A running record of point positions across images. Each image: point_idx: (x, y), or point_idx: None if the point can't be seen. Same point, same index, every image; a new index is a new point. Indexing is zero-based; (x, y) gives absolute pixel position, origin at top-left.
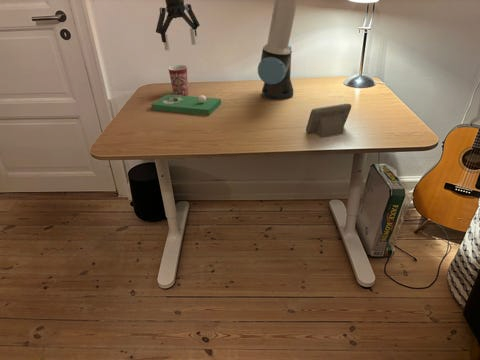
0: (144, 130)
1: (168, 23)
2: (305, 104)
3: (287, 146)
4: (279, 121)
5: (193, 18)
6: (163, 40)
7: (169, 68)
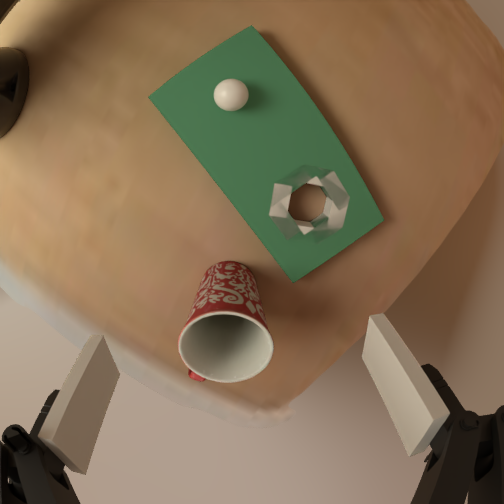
0: (447, 90)
1: None
2: None
3: None
4: None
5: None
6: (440, 375)
7: (258, 366)
